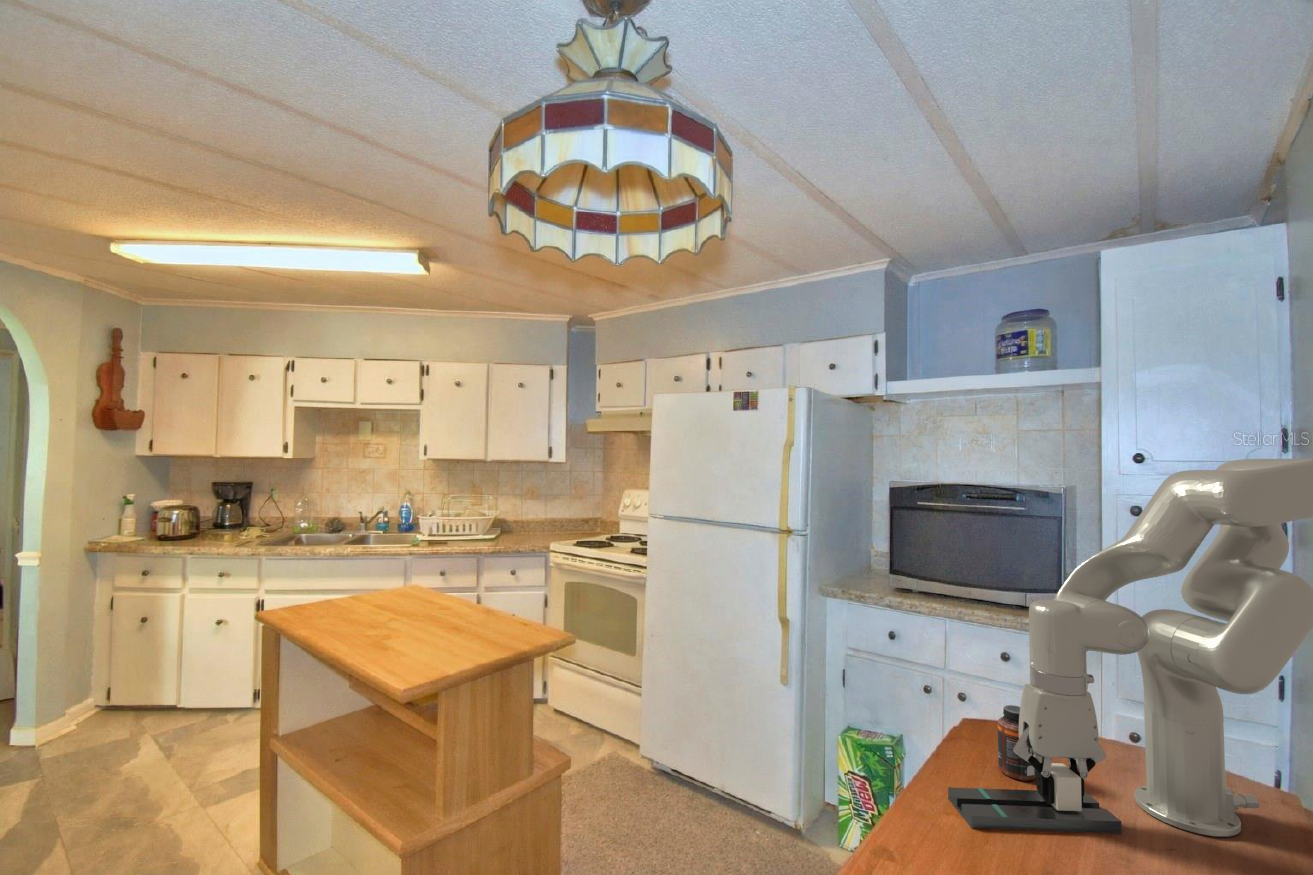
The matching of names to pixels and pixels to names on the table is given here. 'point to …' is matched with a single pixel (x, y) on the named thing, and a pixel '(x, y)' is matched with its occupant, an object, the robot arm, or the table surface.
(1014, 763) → the supplement bottle
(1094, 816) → the fader housing
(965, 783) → the table surface
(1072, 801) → the fader tab
